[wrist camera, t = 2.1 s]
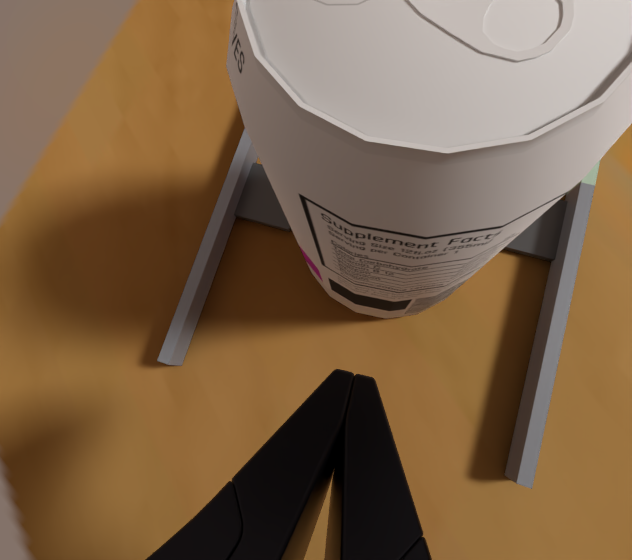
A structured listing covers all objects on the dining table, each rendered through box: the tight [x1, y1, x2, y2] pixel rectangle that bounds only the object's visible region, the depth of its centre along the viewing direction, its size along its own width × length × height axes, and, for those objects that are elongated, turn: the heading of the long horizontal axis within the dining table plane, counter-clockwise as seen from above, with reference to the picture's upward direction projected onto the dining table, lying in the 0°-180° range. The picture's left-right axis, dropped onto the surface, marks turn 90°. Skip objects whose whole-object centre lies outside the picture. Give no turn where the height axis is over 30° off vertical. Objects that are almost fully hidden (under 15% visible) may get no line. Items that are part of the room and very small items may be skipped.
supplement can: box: [226, 0, 632, 319], centre depth 14 cm, size 8×8×15 cm
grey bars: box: [157, 128, 600, 489], centre depth 21 cm, size 18×17×2 cm
